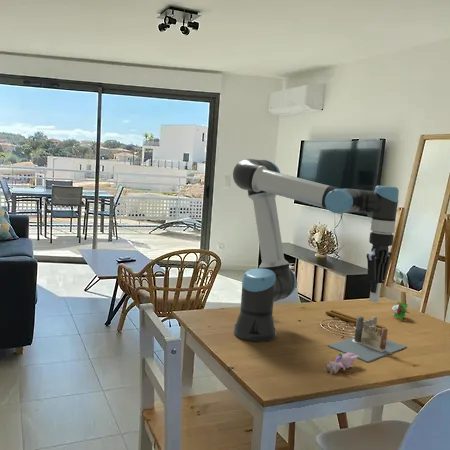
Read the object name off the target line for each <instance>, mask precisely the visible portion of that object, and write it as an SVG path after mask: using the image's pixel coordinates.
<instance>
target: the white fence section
mask: <svg viewBox="0 0 450 450" xmlns="http://www.w3.org/2000/svg"><path fill="white" fill-rule="evenodd" d="M356 318H357V321H356V325H355V331H354V337H355V339H354V341H355V342H361V335H362V331H363V330H364V326H365V324H368V325H369V331H368V332H370V331H371V326H374V327H375V333H377V331H376V324H377V325H378V323H377V322H378V317H377V316H374V315H373V316H371V318H369V319H365V318H364V317H363V316H356ZM364 320H365V321H364Z"/></svg>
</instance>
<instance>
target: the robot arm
mask: <svg viewBox="0 0 450 450" xmlns="http://www.w3.org/2000/svg"><path fill="white" fill-rule="evenodd" d="M232 171H233V172H232V178H233V182H234V183H235V185H236V186H237V187H239V188H240V189H241V190H244V191H245V190H246V191H247V195H248V198H249V199H251V201H252V203H253V210H254V215H255V221H256V222H255V224H256V228H257V229H256V230H257V236H258V242H259V249H260V250H259V251H260V257H261V263H260V265H259V266H258V268H251V269H248V270H247V271H245V272H244V274H243V276H242V282H241V284H242V285H241V298H240V312H239V314H238V317H237V319H236V323H235V324H234V326H233V334H234V335H235V336H236V337H237V338H239V339H241V340H245V341H249V342H256V343H257V342H260V343H261V342H269V341H273V340H274V339H275V338H276V333H277V331H276V328H275V327H276V326H275V322H274V317H273V310H274V302H278V301H280V300H284V299H286V298H288V297H289V296H291V295H292V294H293V293H294V291H295V290H296V287H297V283H298V282H297V276H296V275H295V274H296V273H295V272H294V271H293V270H292V269H291V267H290V263H289V261H288V260H286V259H285V255H284V249H283V241H282V236H281V228H280V222H279V216H278V215H279V213H278V208H277V202H276V201H277V200H276V196H279V197H284V198H287V199H290V200H294V201H298V202H302V203H304V204H308V205H312V206H316V207H319V208H322V209H325V210H328V211H330V212H331V213H334V214H337V215H338V214H340V215H341V214H346V213H355V212H356V213H368V214H372V216H371V221H370V224H371V225H370V230H371V232H369V240H368V241H369V242H368V243H369V244H371V252H370V253H367V254H366V260H367V261H366V262H367V282H368V283H371V284H370V292H369V300H368V301H369V302H372V303H375V304H377V303H379V302H380V295H381V287H382V286H381V285H382V284H385V281H386V278H387V273H388V268H389V265H390V260H391V258H392V255H393V253H392V252H391V251H389V249H390V247H391V246H393V244H394V238H395V237H394V233H395V229H396V219H397V212H398V204H399V188H398V187H396V186H389V185H376V186H375V188H374V190H367V189H366V190H364V189H355V188H339V187H336V186H333V185H328V184H323V183H319V182H317V181H316V182H315V181H312V180H308V179H304V178H300V177H297V176H293V175H289V174H285V173H281V171H280V169H279V167H278V166H277V164H276V163H274V162H272V161H271V160H270V161H269V160H267V159H255V158H254V159H253V158H246V159H242V160H240V161H239V162H237V163H236V165H235V166H234V168H233V170H232Z"/></svg>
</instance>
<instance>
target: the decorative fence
mask: <svg viewBox="0 0 450 450" xmlns="http://www.w3.org/2000/svg"><path fill="white" fill-rule="evenodd" d="M325 314H326V315H329V316H332V317H331V320H334V321H339V320H343V321H346V322H349V324H348V325H349V326H351V327H356V321H357V317H354V316H351V315H348V314H345V313H342V312H339V311H337V310H334V309H331V310H330V311H329V310H326V311H325ZM364 321H366V319H364ZM378 328H380V329H382V328H386V326H384V325H380V324H378V323H377V324H376V332H377V329H378Z"/></svg>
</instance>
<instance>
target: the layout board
mask: <svg viewBox="0 0 450 450" xmlns="http://www.w3.org/2000/svg"><path fill="white" fill-rule="evenodd" d="M354 339H355V336H352V337H349V338H346V339H343V340H339V341H336V342H333V343H330V344H327V347H329V348H331V349H333V350H336V351H339V352H340V353H342V354H346V353H353V354H355V355H358V356H359V357H358V358H357V359H358V360H360V361H362V362H365V363H370V362H373V361H375V360H378V359H380V358H383V357H385V356H388V354H389V355H391V354H394V353H396V352H398V351H401V349H402V350H404V349H406V348H407V347H408V346H406V345H404V344H402V343H398V342H394V341H392V340H390V339H387V340H386V348H385V349H381V348H378V347H376V346H373V345H370V344H367V343H364V342H355V341H354ZM393 352H394V353H393Z"/></svg>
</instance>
